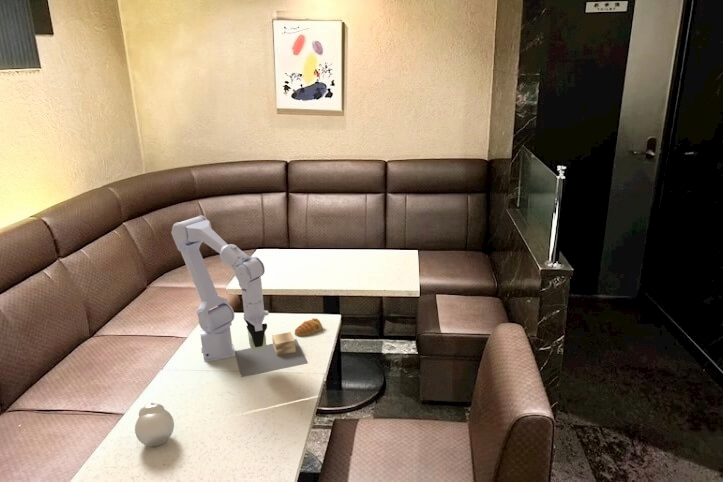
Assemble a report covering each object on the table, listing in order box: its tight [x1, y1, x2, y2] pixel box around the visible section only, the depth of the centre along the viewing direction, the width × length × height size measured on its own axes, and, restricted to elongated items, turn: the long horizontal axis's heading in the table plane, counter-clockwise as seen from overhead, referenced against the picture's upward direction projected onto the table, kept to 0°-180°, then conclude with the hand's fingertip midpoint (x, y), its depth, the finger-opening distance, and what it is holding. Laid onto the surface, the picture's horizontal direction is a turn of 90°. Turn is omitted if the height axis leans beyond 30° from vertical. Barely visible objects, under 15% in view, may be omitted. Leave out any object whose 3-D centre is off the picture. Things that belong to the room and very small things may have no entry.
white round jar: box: [134, 402, 175, 447], centre depth 130 cm, size 9×10×10 cm
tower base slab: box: [272, 342, 296, 356], centre depth 171 cm, size 6×6×2 cm
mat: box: [234, 338, 309, 378], centre depth 167 cm, size 20×16×1 cm
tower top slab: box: [271, 331, 295, 350], centre depth 170 cm, size 6×6×2 cm
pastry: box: [294, 317, 324, 337], centre depth 182 cm, size 9×7×4 cm
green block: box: [247, 330, 267, 351], centre depth 158 cm, size 4×4×4 cm
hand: (257, 342), depth 158 cm, fingers closed on green block, 4 cm apart
